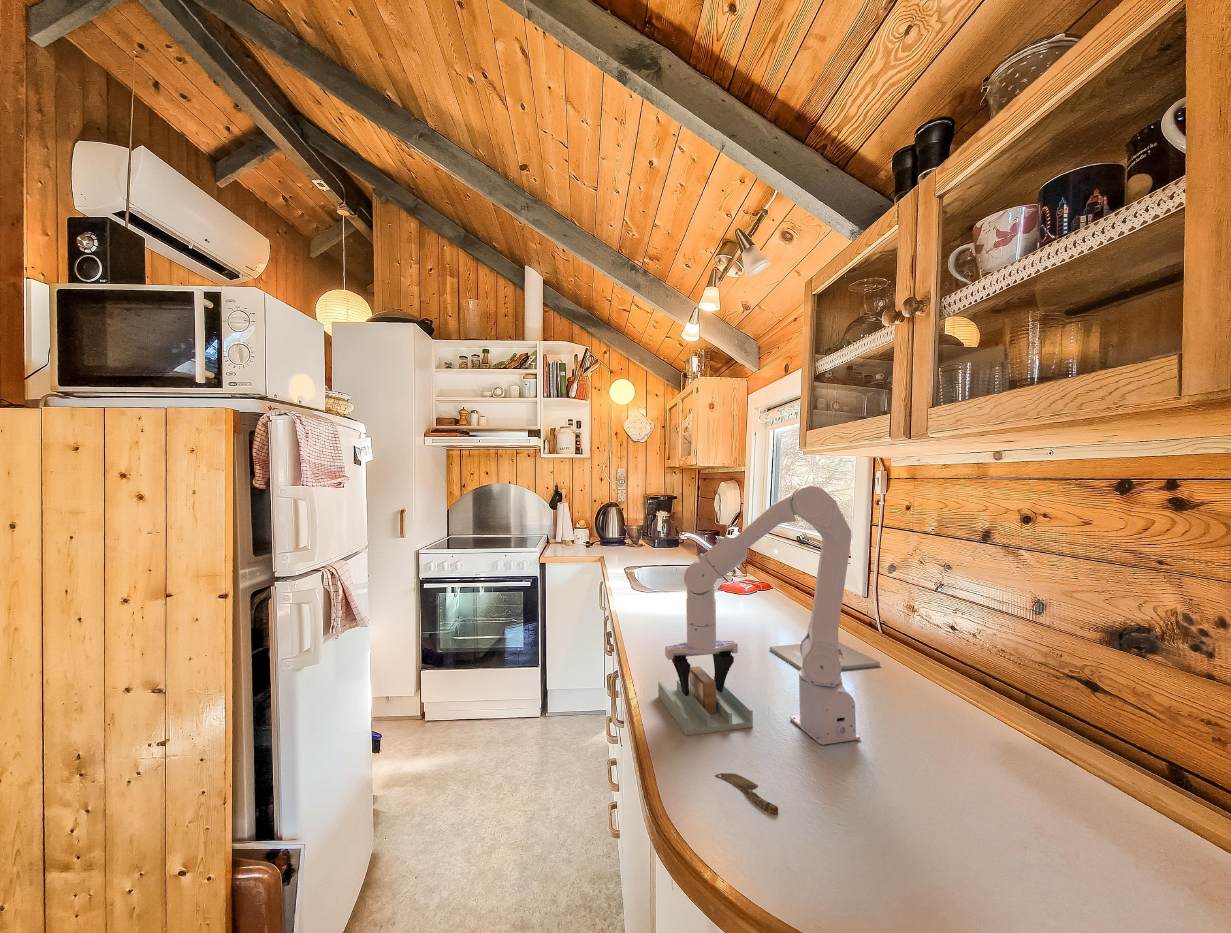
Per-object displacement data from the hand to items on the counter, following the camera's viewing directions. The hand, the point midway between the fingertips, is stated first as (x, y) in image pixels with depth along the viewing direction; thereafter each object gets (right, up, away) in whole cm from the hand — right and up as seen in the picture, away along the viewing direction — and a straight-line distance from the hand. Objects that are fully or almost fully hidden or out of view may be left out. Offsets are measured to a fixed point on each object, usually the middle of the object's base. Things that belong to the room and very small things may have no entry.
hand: (702, 692), depth 95 cm
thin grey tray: (+35, -5, +27) cm, 45 cm away
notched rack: (0, -4, 0) cm, 4 cm away
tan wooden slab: (0, -3, 0) cm, 3 cm away
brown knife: (+2, -3, -24) cm, 25 cm away
